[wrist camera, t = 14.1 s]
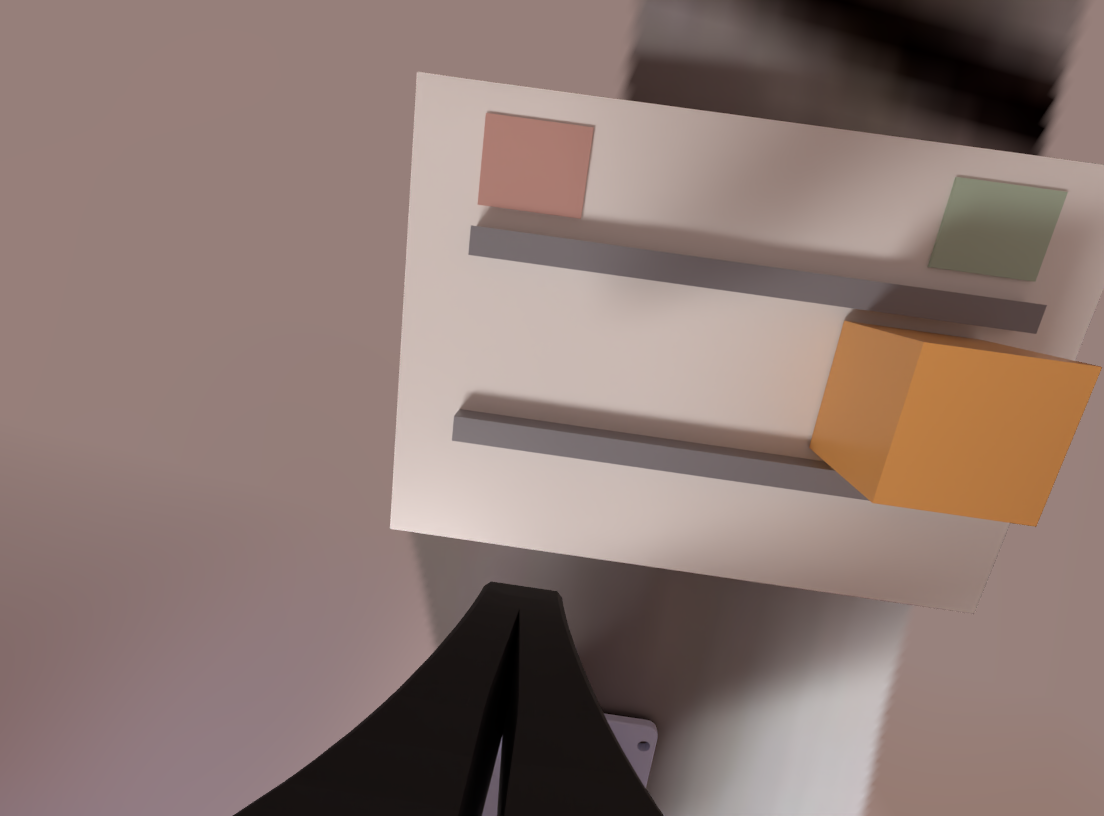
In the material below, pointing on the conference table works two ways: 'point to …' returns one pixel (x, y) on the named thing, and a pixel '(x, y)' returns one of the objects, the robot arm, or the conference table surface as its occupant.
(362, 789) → the robot arm
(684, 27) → the conference table surface
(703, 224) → the plate
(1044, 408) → the orange cube
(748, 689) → the conference table surface
